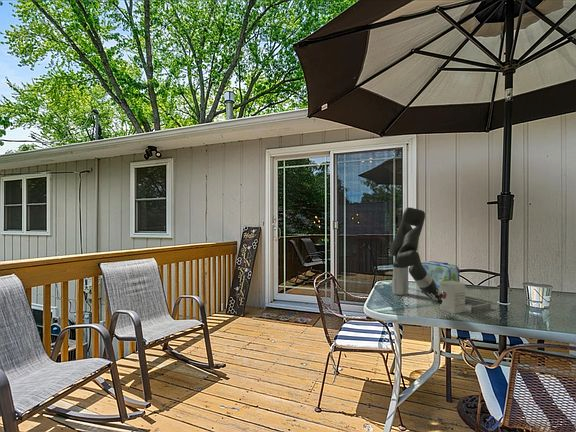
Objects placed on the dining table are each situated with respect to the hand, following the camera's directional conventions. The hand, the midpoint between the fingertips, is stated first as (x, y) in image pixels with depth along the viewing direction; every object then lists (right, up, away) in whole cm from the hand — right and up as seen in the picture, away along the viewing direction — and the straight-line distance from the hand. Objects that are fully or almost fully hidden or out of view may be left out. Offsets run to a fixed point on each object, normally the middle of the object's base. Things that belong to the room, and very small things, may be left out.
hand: (440, 302), depth 176 cm
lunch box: (+19, -6, +44) cm, 48 cm away
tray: (+20, -5, +12) cm, 23 cm away
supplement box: (+8, -6, +5) cm, 11 cm away
